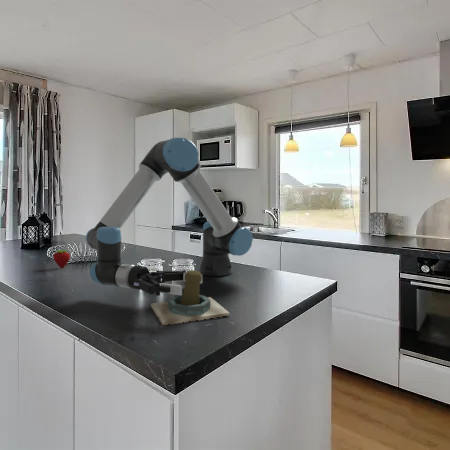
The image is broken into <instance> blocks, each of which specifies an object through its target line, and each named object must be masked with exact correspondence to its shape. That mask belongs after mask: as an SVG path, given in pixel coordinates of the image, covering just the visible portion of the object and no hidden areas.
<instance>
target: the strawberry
mask: <svg viewBox="0 0 450 450" xmlns="http://www.w3.org/2000/svg"><path fill="white" fill-rule="evenodd" d="M61 249H62V250H57V251H56V252H55V253H54V254H53V257H52V258H53V260H54V262H55V264H56V265H57V266H58V267H59V268H60V269H64V268H65V267H66V266H67V264H68V263H69V261H70V260H71V255H70V253H69V251H67V249H63V248H61Z"/></svg>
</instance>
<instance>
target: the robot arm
mask: <svg viewBox="0 0 450 450" xmlns="http://www.w3.org/2000/svg"><path fill="white" fill-rule="evenodd" d="M201 165H202V164H201V162H200V161H199V151H198V148H197V146H196V144H194V142H193V141H191V140H189V139H188V138H185V137H172V138H170V139H166V140H162V141H158V142H157V143H156V144H154V145H153V147H151V149H150V150H149V151H148V152H147V154H146V155H145V156H144V158H143V159H142V161H141V162H140V163H139V165H138V170H137V172H136V173H135V174H134V176H133V177H132V178H131V180H130V181H128V183H127V185H126V186H125V187H124V189H123V190H122V191H121V193H120V194H119V195H118V197H117V198H116V199H115V200H114V201H113V203H112V204H111V206H110V207H109V208H108V210H107V211H106V213H104V215H103V216H102V217H101V218H100V220H99V221H98V223H97V224H96V225H95V226H94V227H92V228H90V229H89V230H88V231H87V232H86V234H85V242H86V243H87V245H88V246H89V247H90V248H91V249H94V250H96V251H97V252H96V253H97V254H96V255H97V261H95V262H94V263H92V264H91V267H90V268H91V269H90V270H89V277H90V279H91V280H92V281H93V282H94V283H96V284H100V285H103V286H113V287H120V288H121V287H122V288H124V289H126V290H128V289H134V290H140V291H143V292H145V293H148V294H150V295H154V294H155V296H160V295H161V293H162V294H169V295H174V296H176V295H180V296H181V295H183V286H182V285H181V284H175V283H166V282H177V281H178V282H179V281H182V282H185V283H186V281H185V274H186V273H187V271H186V270H185V269H183V270H160V269H158V270H156V271H150V270H149V268H148V267H147V266H143V265H136V264H126V263H122V233H121V232H122V231H121V228H122V227H123V225H124V224H125V223H126V222H127V220H128V219H129V217H130V216H131V215H132V214H133V212H134V211H135V209H136V208H137V207H138V206H139V205H140V203H141V201H142V200H143V199H144V197H145V196H146V195H147V194H148V192H149V191H150V189H152V187H153V185H154V184H155V183H156V182H159V181H161V179H162V178H163V176H165V175H166V174H167V173H169V175H170V176H171V178H172V179H173V180H174V182H175V183H176V182H177V183H179V184H181V185H182V186H183V188H184V189H185V191H186V192H187V194H188V195H189V196H190V197H191V199H192V200H193V202H194V203H195V205H196V206H197V207H198V209H199V210H200V212H201V213H202V215H203V217H204V218H205V219H206V222H204V224H203V227H202V257H201V260H200V263H199V266H198V272H200V273H201V275H202V276H208V277H209V276H210V277H211V276H212V277H221V276H228V275H231V274H233V265H232V262H231V258H230V256H229V255H232V256H237V257H239V256H240V257H241V256H244V255H246V254H247V253H248V252H249V251H250V249H251V248H252V245H253V241H254V240H253V239H254V238H253V233H252V232H251V230H250V229H249V228H247V227H243V226H242V224H241V223H240V221H239V220H238V218H237V217H234V216H233V217H232V216H231V215H230V213H229V212H228V210H227V208H226V207H225V206H224V204H223V203H222V201H221V200H220V198H219V197H218V195H217V193H216V192H215V191H214V189H213V187H212V186H211V185H210V183H209V181H208V180H207V179H206V177H205V175H204V174H203V173H202V171H201V167H202V166H201ZM201 284H203V279H202V280H201V282H200V283H199V285H201Z"/></svg>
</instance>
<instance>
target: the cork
mask: <svg viewBox="0 0 450 450" xmlns="http://www.w3.org/2000/svg"><path fill="white" fill-rule="evenodd" d="M201 280H202V281H203V274H201V273H200V272H199V270H193V269H192V270H191V269H190V270H188V271H186V274H185V281H186V282H185V284H184V288H183V290H182V298H181V302H180V305H186V306H190V305H198V304H199V295H200V282H201Z"/></svg>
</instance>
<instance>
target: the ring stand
mask: <svg viewBox="0 0 450 450" xmlns="http://www.w3.org/2000/svg"><path fill="white" fill-rule="evenodd" d="M182 295H183V294H182ZM182 295H181V296H180V295H174V296H173V297H171V298H169V299H168V300H167V301H165V302H163V301H162V302H156V303H154V302H153V303H151V304H150V306H151V307H150V308H151V309H152V310H153V312H154V314H155V315H156V317H157V318H159V319H158V320H159V323H161V325H162V326H167V325H168V324H170V325H175V324H176V325H177V324H183V322H184V323H190V322H189V321H191V322H197V321H196V320H198V321H203V320H204V319H206V320H211V319H210V318H213V319H218V318H217V317H220V318H223V317H222V316H227V317H229V316H228V315H230V312H229V311H228V310H227V309H226V308H224V307H223V306H222V305H221V304H220V303H218V302H217V301H216V300H215V299H213V298H212V297H211V296H205V295H204V294H203V295H202V294H199V304H198V305H190V306H186V305H180V302H181V298H182ZM230 316H231V315H230ZM204 321H205V320H204Z"/></svg>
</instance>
